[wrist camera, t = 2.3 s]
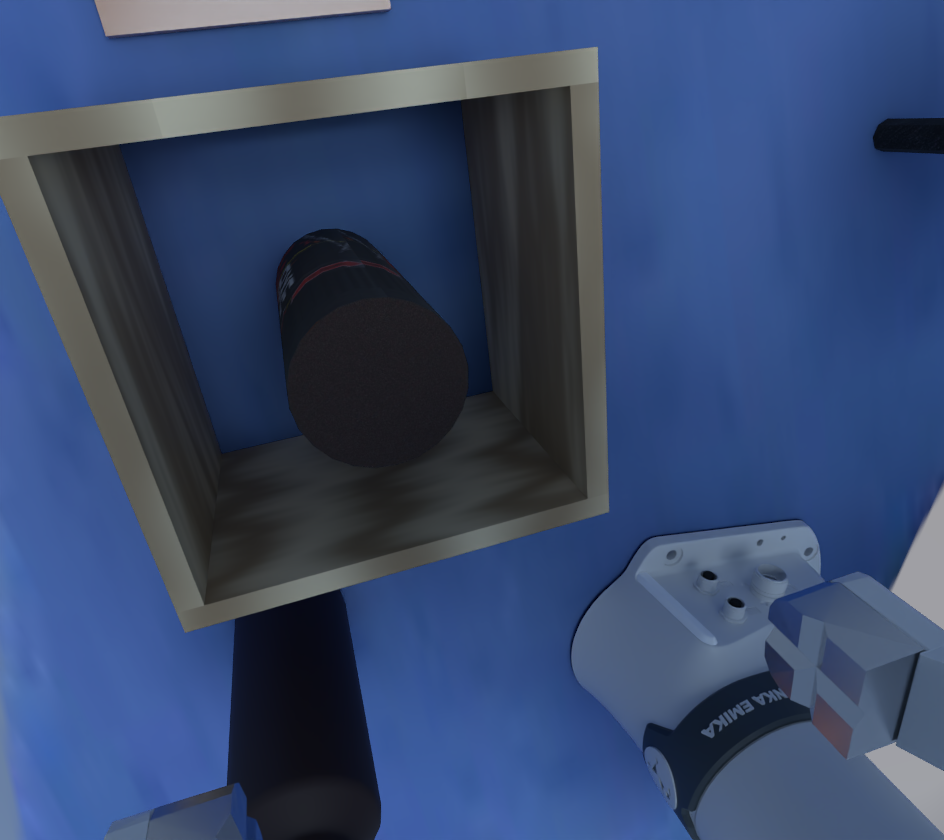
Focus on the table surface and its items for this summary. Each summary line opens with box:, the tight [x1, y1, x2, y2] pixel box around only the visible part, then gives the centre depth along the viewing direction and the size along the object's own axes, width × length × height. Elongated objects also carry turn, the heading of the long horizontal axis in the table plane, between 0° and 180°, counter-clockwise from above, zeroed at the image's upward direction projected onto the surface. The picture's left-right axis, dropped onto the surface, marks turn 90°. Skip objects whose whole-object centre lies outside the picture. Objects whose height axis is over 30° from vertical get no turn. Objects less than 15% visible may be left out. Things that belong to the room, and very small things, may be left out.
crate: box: [0, 47, 609, 633], centre depth 28 cm, size 18×18×13 cm
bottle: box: [227, 589, 381, 840], centre depth 33 cm, size 7×7×20 cm
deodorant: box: [276, 229, 468, 468], centre depth 27 cm, size 6×6×15 cm
